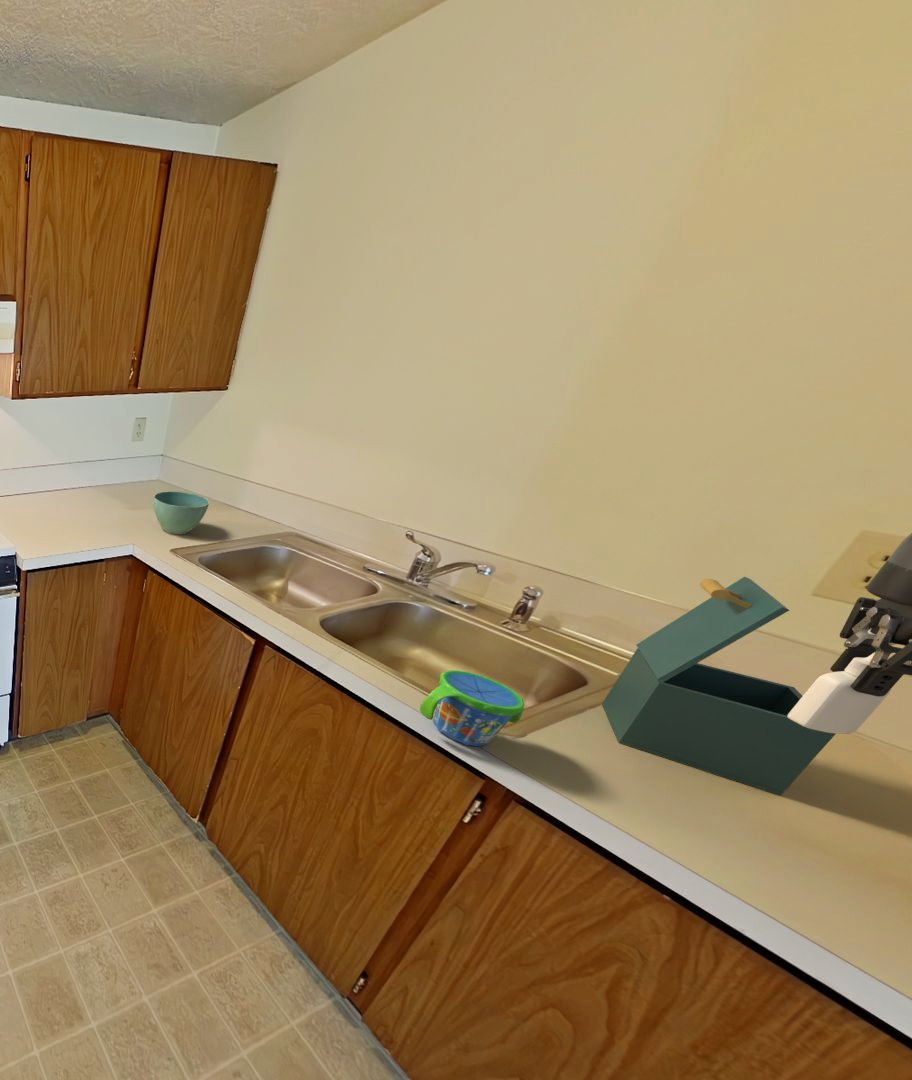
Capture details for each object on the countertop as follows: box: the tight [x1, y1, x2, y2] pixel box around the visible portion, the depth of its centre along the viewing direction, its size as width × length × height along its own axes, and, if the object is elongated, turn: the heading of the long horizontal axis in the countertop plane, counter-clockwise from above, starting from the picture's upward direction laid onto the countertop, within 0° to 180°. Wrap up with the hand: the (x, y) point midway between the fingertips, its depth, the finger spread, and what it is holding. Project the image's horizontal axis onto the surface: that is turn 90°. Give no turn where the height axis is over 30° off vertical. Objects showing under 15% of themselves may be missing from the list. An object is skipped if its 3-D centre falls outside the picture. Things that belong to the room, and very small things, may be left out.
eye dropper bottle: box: [787, 652, 892, 735], centre depth 68 cm, size 4×6×12 cm
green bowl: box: [153, 490, 210, 535], centre depth 182 cm, size 18×18×12 cm
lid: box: [635, 576, 790, 682], centre depth 85 cm, size 18×14×5 cm
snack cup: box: [419, 669, 525, 747], centre depth 90 cm, size 16×10×10 cm
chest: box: [601, 647, 836, 797], centre depth 87 cm, size 17×14×13 cm
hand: (854, 683), depth 67 cm, fingers closed on eye dropper bottle, 4 cm apart
